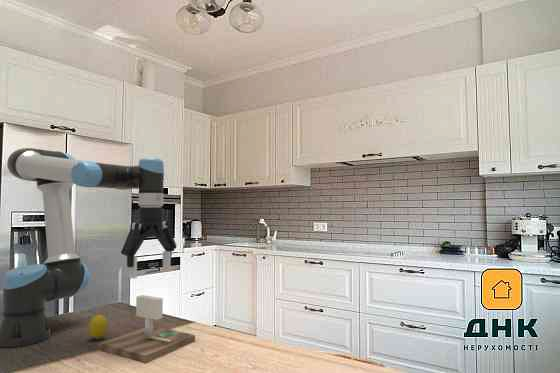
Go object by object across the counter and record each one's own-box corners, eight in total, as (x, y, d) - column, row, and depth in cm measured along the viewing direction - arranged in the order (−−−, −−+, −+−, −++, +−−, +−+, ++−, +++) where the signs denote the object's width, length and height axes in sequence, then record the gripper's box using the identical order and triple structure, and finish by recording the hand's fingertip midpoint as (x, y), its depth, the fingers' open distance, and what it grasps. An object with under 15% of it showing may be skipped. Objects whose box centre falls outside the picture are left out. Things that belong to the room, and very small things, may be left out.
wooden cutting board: (99, 350, 117) (99, 342, 117) (150, 331, 134) (150, 325, 134) (145, 363, 107) (146, 355, 107) (195, 341, 125) (195, 334, 125)
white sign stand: (135, 336, 122) (136, 296, 123) (141, 334, 124) (142, 295, 125) (166, 344, 115) (167, 301, 116) (172, 341, 117) (173, 299, 118)
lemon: (99, 342, 123) (100, 317, 124) (84, 341, 124) (85, 316, 125) (110, 337, 129) (111, 312, 129) (96, 335, 130) (96, 311, 130)
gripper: (126, 206, 110) (125, 282, 109) (187, 206, 132) (187, 269, 131) (109, 207, 114) (107, 280, 113) (171, 206, 136) (170, 268, 134)
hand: (150, 274), depth 122 cm, fingers open, 13 cm apart
